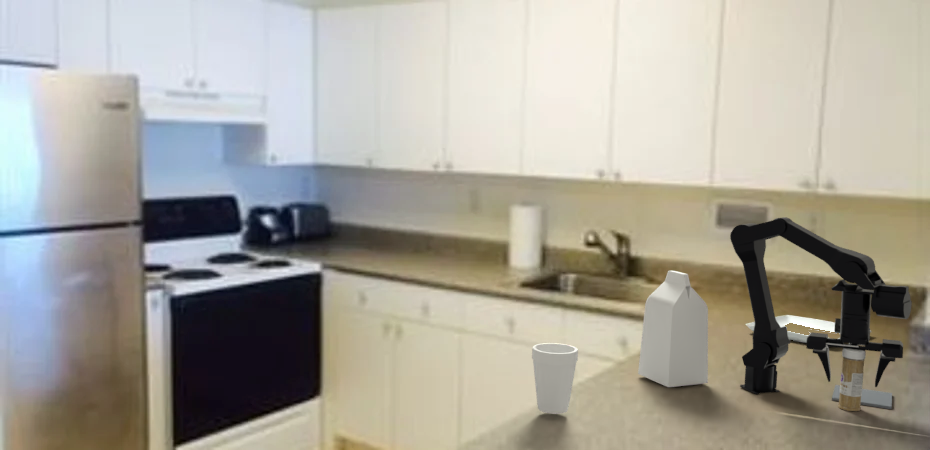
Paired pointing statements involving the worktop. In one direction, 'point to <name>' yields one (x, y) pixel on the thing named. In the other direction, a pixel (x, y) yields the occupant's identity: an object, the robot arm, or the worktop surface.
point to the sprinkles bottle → (851, 379)
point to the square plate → (804, 322)
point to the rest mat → (869, 398)
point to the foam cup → (554, 375)
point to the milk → (675, 334)
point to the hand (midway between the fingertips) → (852, 384)
